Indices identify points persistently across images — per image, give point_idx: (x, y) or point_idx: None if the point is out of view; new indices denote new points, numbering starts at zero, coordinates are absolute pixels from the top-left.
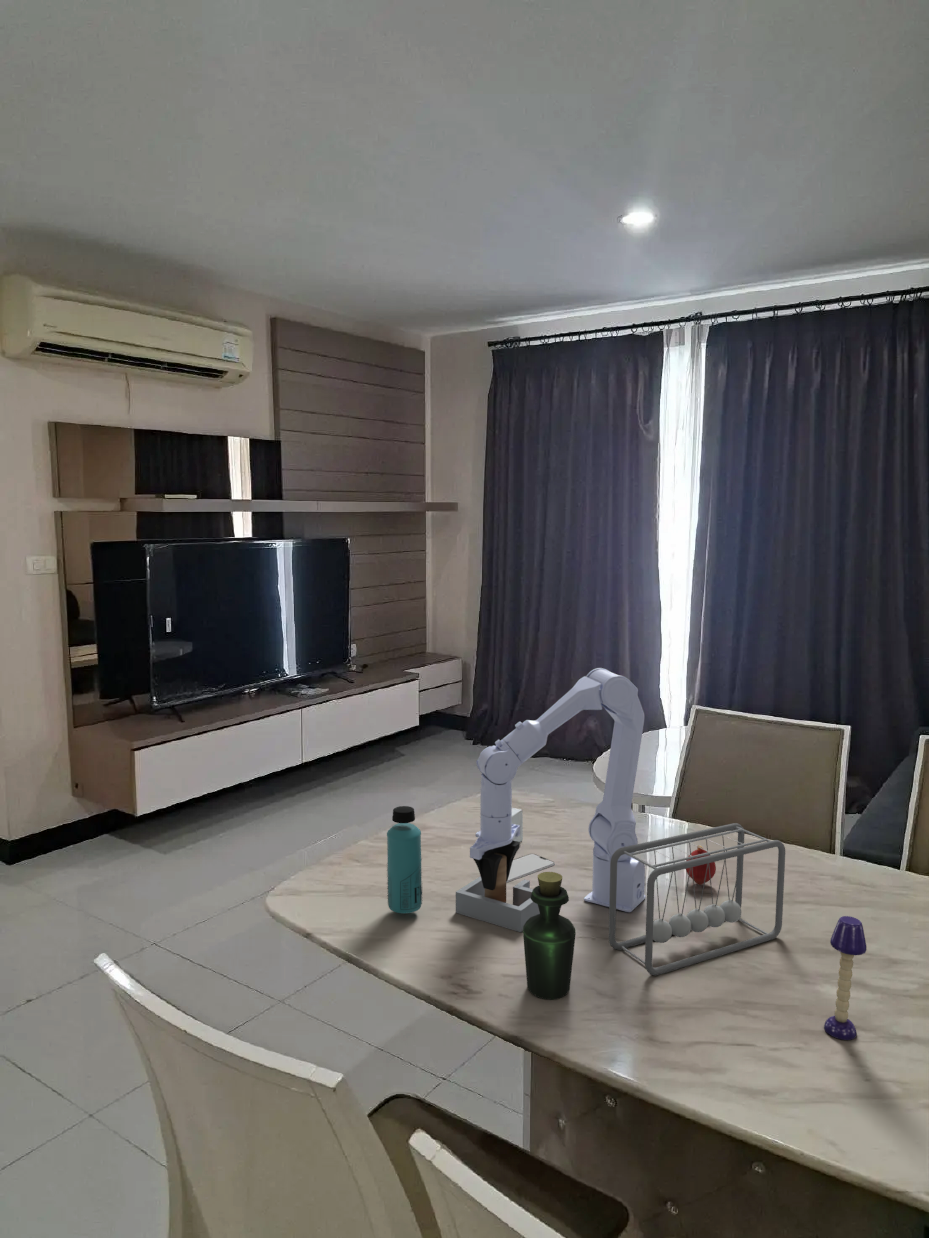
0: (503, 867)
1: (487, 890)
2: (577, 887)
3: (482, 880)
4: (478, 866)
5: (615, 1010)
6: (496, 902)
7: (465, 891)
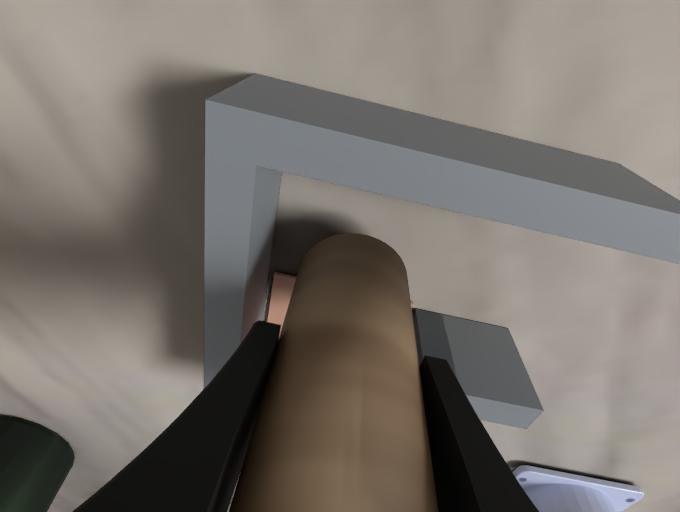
0: None
1: (285, 319)
2: (638, 443)
3: (230, 359)
4: (127, 476)
5: (65, 509)
6: (215, 360)
7: (252, 173)
